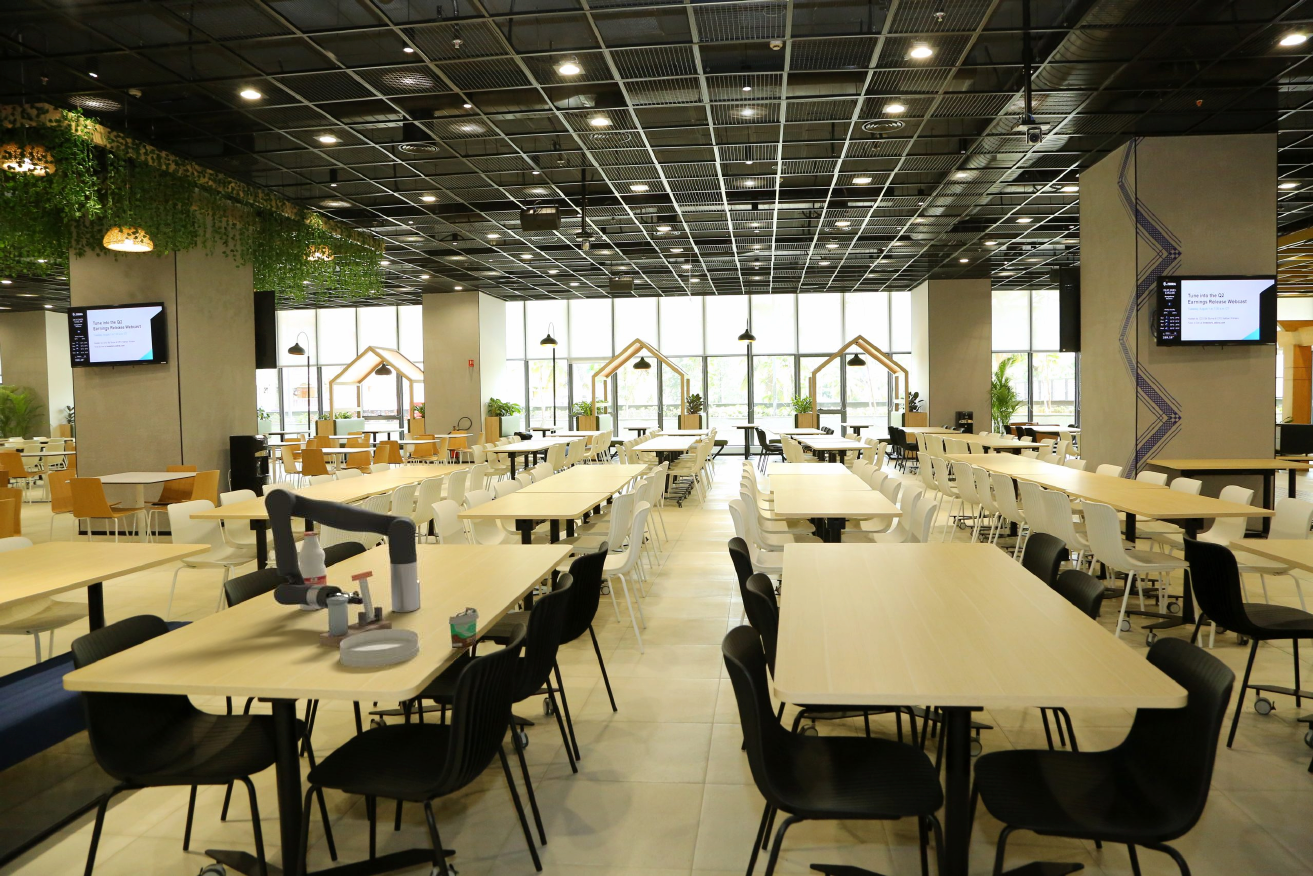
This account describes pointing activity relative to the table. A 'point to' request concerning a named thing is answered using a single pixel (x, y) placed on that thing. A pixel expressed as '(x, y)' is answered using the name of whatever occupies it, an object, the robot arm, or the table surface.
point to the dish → (379, 647)
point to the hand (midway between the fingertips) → (362, 601)
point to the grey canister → (338, 616)
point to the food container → (464, 628)
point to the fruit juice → (312, 563)
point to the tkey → (366, 595)
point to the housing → (357, 628)
